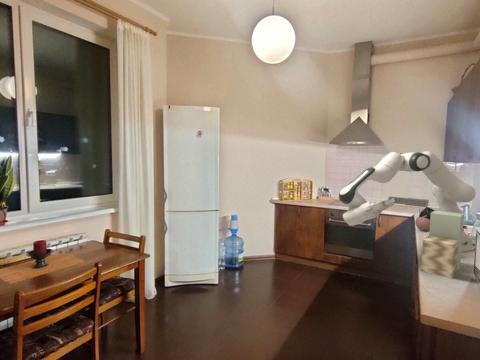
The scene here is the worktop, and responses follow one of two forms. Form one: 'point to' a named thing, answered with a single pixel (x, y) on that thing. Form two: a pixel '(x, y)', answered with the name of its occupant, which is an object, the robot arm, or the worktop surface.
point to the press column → (448, 228)
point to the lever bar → (410, 201)
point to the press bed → (439, 256)
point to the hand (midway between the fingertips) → (396, 199)
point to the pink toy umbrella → (423, 223)
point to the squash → (426, 212)
